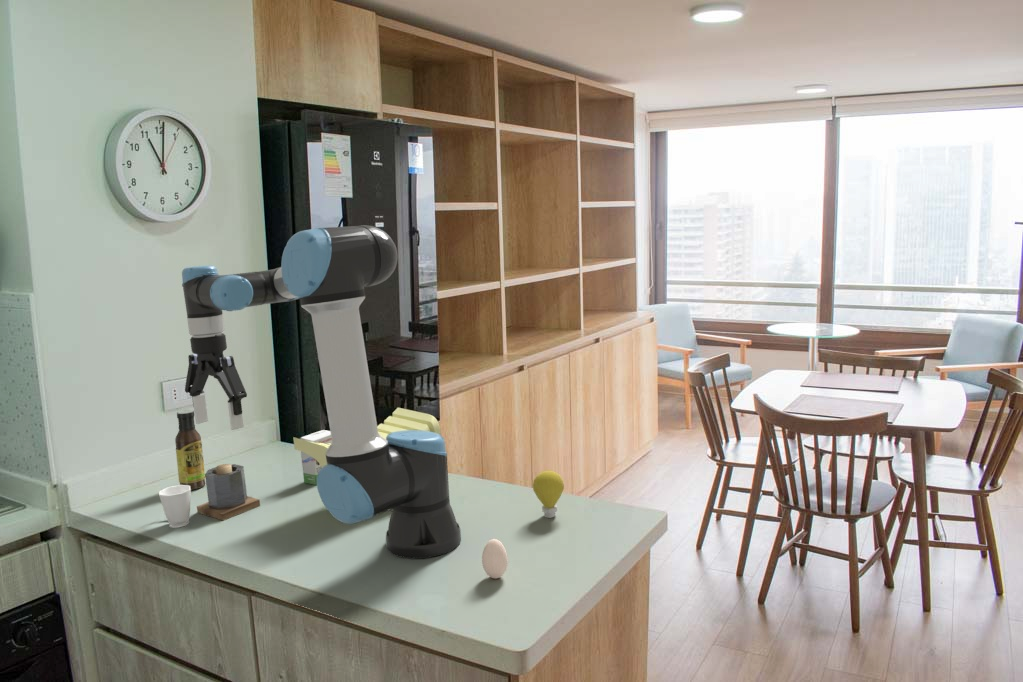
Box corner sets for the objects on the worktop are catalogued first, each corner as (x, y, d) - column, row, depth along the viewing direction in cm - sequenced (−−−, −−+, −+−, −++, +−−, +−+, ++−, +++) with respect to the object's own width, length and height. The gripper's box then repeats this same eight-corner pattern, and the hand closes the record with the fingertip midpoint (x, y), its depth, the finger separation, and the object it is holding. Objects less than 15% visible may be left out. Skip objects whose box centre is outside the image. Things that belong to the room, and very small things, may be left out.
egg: (478, 580, 145) (475, 542, 144) (492, 569, 149) (489, 532, 148) (499, 585, 143) (497, 546, 141) (513, 574, 147) (511, 536, 145)
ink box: (316, 485, 200) (312, 440, 198) (303, 482, 203) (298, 438, 201) (341, 475, 207) (337, 431, 205) (327, 472, 210) (323, 429, 208)
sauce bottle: (190, 493, 200) (180, 416, 197) (175, 489, 203) (164, 413, 200) (212, 484, 205) (202, 409, 202) (196, 481, 209) (186, 407, 205)
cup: (170, 533, 175) (166, 498, 174) (151, 522, 182) (146, 488, 181) (201, 522, 180) (197, 488, 179) (181, 512, 187) (177, 479, 186)
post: (260, 505, 189) (255, 463, 187) (223, 520, 181) (217, 476, 179) (234, 498, 194) (229, 457, 193) (197, 512, 186) (191, 469, 185)
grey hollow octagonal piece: (253, 500, 188) (249, 467, 187) (223, 511, 182) (219, 478, 180) (232, 494, 193) (228, 462, 191) (203, 505, 186) (199, 472, 185)
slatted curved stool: (341, 528, 173) (333, 449, 169) (301, 511, 183) (293, 437, 180) (445, 487, 194) (439, 416, 191) (403, 474, 205) (397, 407, 202)
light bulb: (571, 514, 173) (569, 470, 171) (551, 524, 168) (549, 478, 167) (548, 507, 178) (545, 464, 176) (528, 517, 173) (525, 472, 171)
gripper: (255, 333, 176) (267, 427, 180) (190, 330, 191) (202, 416, 194) (226, 339, 170) (238, 435, 174) (161, 335, 185) (173, 424, 188)
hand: (219, 425), depth 184 cm, fingers open, 13 cm apart
